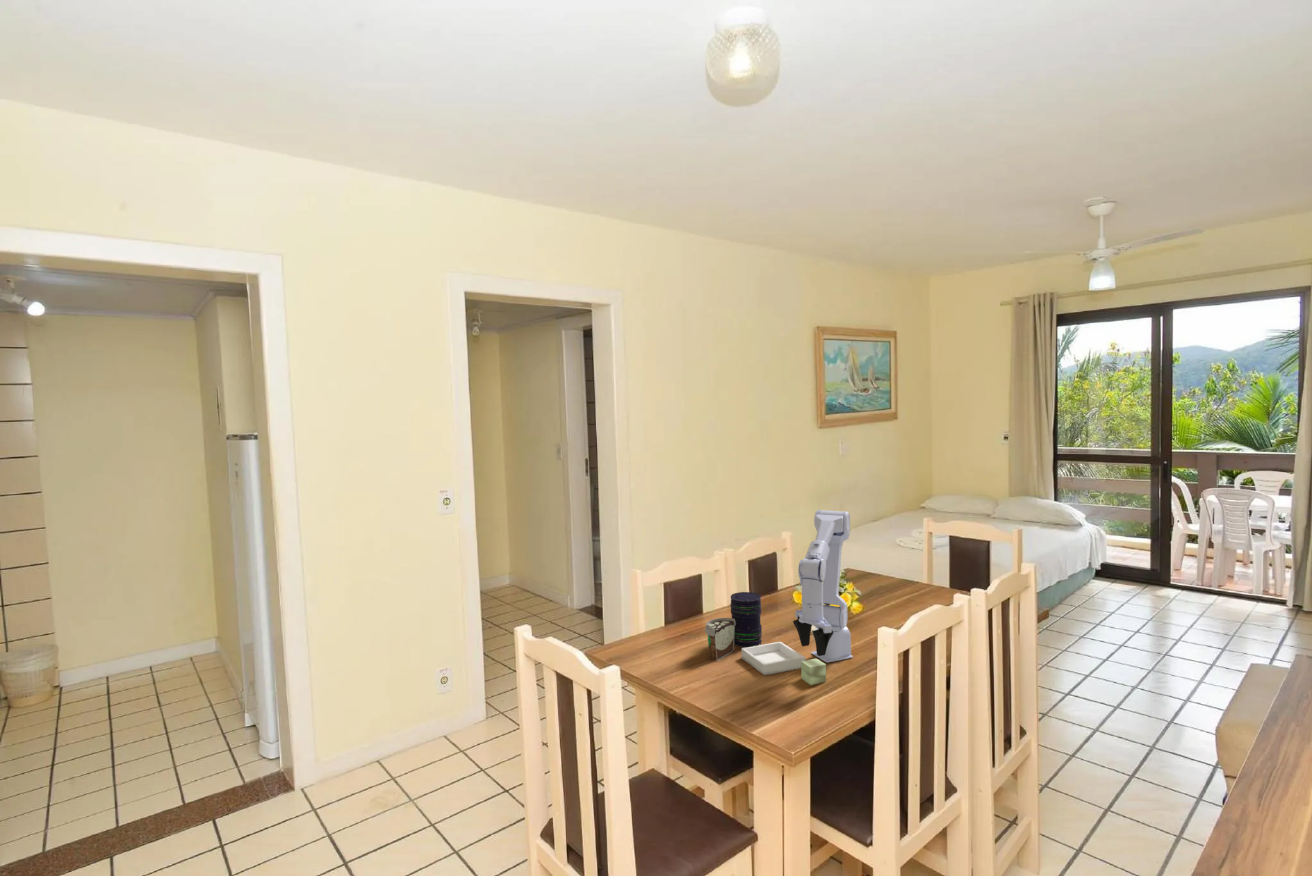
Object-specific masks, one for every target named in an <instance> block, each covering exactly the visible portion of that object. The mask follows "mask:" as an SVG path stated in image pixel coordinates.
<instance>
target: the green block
mask: <svg viewBox="0 0 1312 876" xmlns="http://www.w3.org/2000/svg"><path fill="white" fill-rule="evenodd" d="M800 672H801V675H800V676H801V678H800V679H802V680H803V681H804V682H805V683H807V684H808V685H810V686H813V685H816V684H817V685H818V684H821V683H822V684H823V683H827V664H826V662H825V663H824V662H823V661H821V659H818V658H812V659H807V660H806V659H805V661H801V668H800Z"/></svg>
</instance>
